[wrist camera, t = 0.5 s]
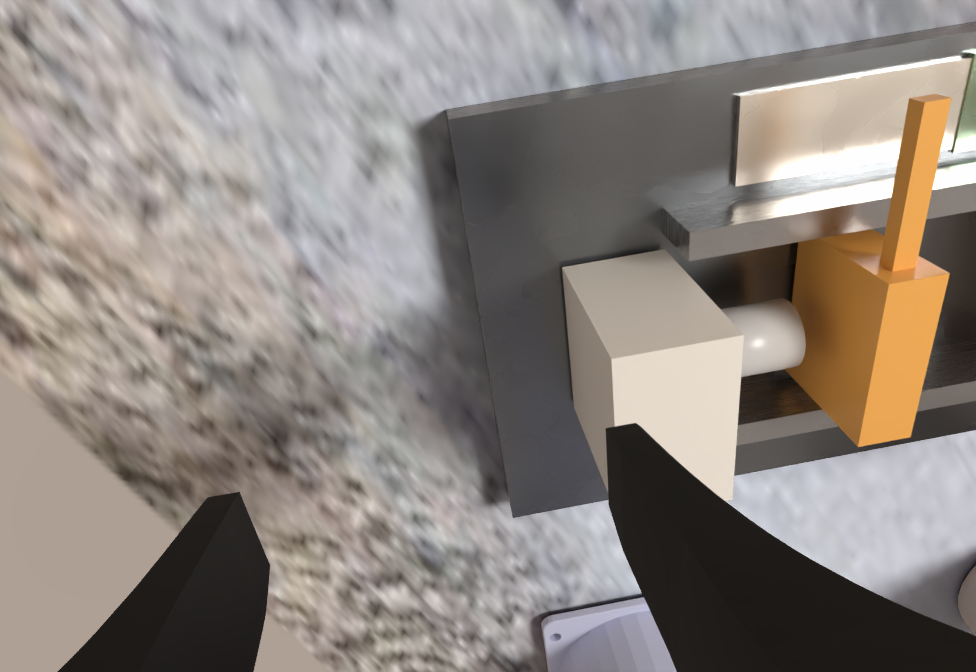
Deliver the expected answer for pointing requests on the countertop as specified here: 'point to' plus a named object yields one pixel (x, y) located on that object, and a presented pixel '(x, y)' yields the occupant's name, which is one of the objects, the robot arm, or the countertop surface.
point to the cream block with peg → (669, 359)
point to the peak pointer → (876, 299)
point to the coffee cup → (968, 600)
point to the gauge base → (708, 227)
